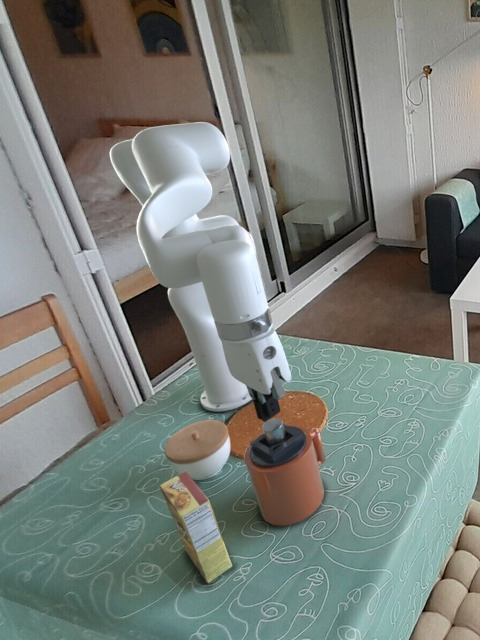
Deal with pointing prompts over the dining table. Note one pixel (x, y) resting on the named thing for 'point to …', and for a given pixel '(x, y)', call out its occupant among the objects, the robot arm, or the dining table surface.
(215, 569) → the candy box
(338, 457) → the dining table surface
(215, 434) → the trinket box
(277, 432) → the jug button
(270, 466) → the jug
